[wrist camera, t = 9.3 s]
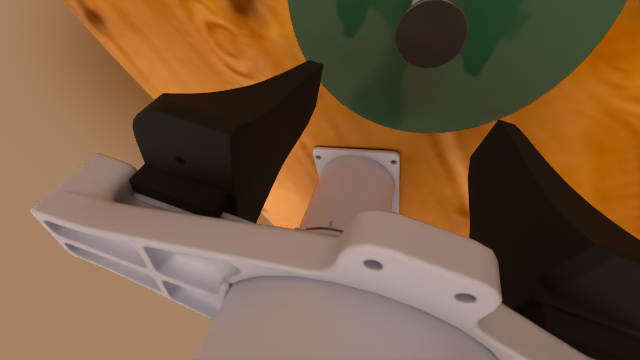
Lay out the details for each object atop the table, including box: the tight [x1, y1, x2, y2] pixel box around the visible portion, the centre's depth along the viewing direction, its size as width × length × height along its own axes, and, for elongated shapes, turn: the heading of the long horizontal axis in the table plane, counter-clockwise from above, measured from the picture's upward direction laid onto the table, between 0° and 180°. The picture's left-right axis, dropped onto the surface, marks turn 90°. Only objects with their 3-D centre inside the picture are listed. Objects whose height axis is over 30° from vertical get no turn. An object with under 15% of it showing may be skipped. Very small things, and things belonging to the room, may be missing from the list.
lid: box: [288, 0, 627, 133], centre depth 12 cm, size 13×13×4 cm
